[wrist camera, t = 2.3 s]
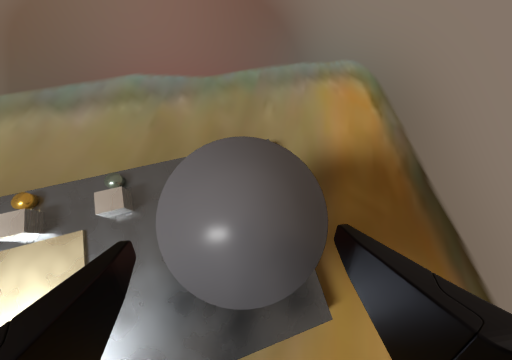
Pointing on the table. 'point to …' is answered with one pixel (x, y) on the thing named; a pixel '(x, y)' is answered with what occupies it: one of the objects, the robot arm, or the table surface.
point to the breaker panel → (144, 272)
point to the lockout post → (241, 223)
